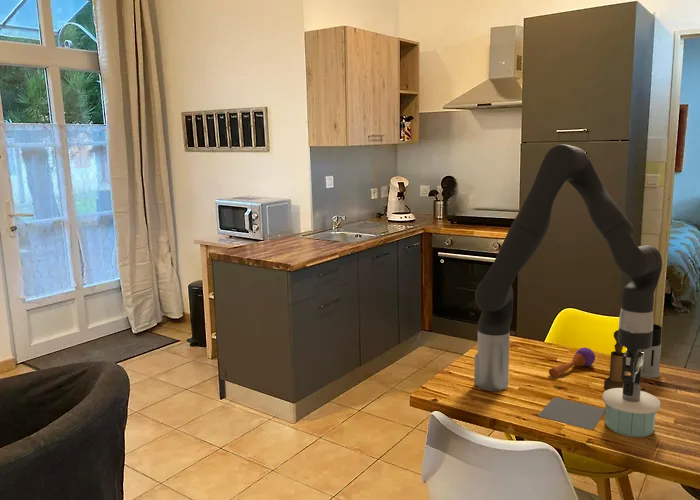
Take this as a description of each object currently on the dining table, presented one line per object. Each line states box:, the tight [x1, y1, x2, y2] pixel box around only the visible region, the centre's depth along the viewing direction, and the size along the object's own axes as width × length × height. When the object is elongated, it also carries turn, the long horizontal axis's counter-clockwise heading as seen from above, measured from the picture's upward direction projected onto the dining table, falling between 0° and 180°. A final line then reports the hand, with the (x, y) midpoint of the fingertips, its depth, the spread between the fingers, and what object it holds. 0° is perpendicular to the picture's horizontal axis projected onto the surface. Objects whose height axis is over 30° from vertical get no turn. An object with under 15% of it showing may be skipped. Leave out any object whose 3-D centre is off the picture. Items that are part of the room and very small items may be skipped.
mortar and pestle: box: [603, 329, 624, 391], centre depth 167 cm, size 7×6×18 cm
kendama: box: [548, 347, 596, 379], centre depth 184 cm, size 6×6×20 cm
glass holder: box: [640, 323, 663, 379], centre depth 177 cm, size 9×14×15 cm, turn 154°
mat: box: [537, 396, 606, 431], centre depth 154 cm, size 14×14×1 cm
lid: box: [602, 383, 661, 414], centre depth 145 cm, size 13×13×4 cm
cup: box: [604, 403, 657, 438], centre depth 146 cm, size 11×11×7 cm
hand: (631, 388), depth 144 cm, fingers open, 8 cm apart
